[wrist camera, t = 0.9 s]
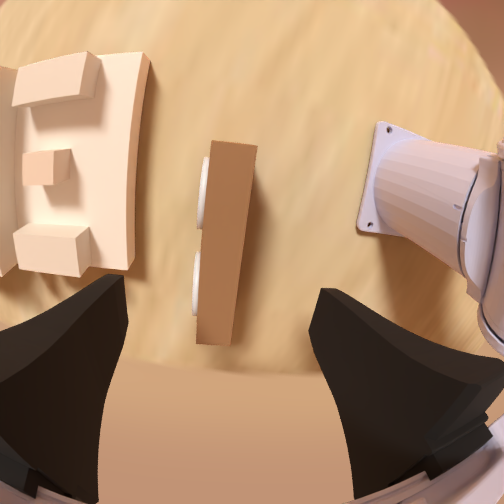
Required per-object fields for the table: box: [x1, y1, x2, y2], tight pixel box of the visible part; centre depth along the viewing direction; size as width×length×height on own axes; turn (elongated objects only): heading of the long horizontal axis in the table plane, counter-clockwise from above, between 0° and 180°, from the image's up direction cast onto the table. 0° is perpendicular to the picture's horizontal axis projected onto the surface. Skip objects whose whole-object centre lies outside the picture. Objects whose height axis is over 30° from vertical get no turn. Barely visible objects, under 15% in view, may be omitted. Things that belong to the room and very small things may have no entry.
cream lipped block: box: [0, 51, 150, 277], centre depth 12 cm, size 10×13×5 cm
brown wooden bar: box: [192, 140, 257, 346], centre depth 16 cm, size 2×11×5 cm, turn 172°
